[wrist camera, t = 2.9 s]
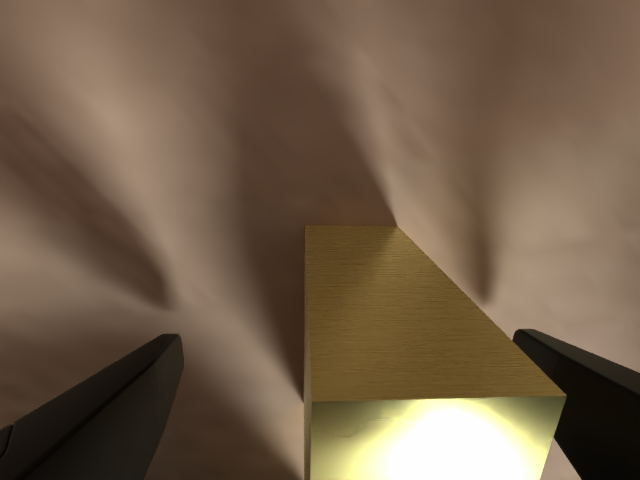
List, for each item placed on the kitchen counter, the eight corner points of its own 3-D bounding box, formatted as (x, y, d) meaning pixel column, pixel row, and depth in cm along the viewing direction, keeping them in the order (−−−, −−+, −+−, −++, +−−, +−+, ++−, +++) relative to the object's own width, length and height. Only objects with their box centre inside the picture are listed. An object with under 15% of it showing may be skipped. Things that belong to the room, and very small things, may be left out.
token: (397, 225, 9) (567, 395, 3) (379, 400, 11) (465, 700, 5) (305, 225, 9) (311, 401, 3) (303, 402, 11) (306, 714, 5)
